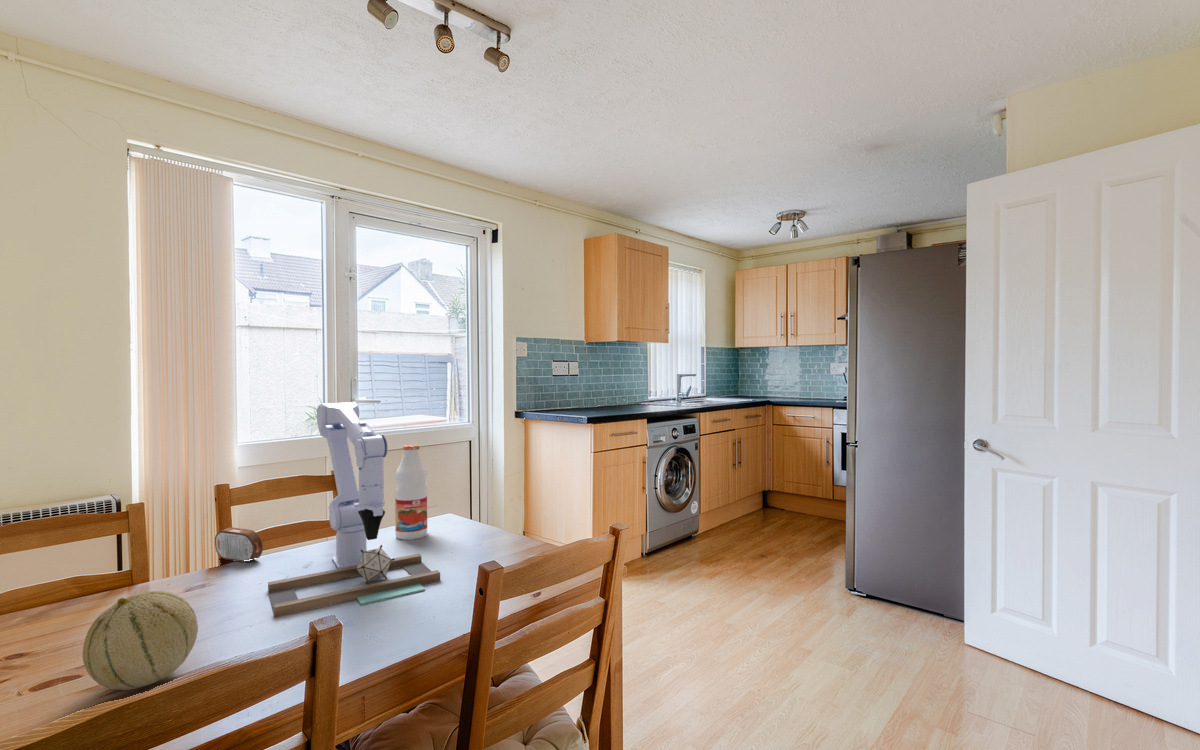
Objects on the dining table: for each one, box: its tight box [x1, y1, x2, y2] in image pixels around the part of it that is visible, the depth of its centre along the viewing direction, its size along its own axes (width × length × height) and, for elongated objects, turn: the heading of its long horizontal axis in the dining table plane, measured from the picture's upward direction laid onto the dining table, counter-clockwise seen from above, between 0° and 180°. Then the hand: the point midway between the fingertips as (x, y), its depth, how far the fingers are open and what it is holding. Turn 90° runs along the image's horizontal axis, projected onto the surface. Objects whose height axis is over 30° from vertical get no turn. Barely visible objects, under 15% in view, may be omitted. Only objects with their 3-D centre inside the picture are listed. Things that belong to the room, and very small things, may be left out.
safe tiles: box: [356, 584, 426, 606], centre depth 137 cm, size 25×14×1 cm, turn 35°
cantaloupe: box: [82, 590, 199, 691], centre depth 92 cm, size 15×15×15 cm
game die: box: [353, 544, 395, 585], centre depth 137 cm, size 9×8×10 cm
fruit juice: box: [394, 444, 428, 541], centre depth 173 cm, size 9×9×28 cm
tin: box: [214, 526, 264, 563], centre depth 152 cm, size 15×3×8 cm, turn 71°
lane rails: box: [267, 553, 441, 618], centre depth 133 cm, size 17×35×2 cm, turn 125°
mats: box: [268, 561, 432, 613], centre depth 133 cm, size 13×35×1 cm, turn 125°
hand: (371, 538), depth 139 cm, fingers closed
